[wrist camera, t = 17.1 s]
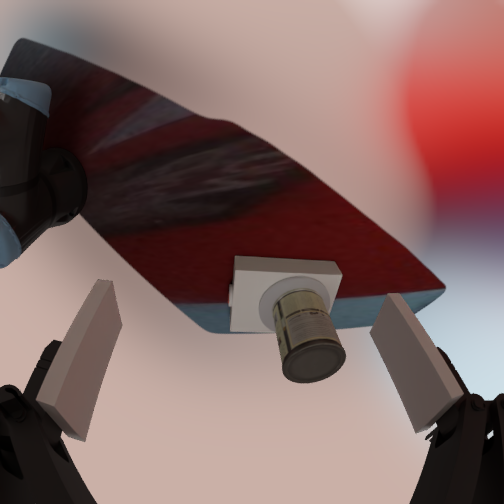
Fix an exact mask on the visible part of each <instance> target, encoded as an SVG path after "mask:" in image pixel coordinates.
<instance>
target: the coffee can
mask: <svg viewBox="0 0 504 504" xmlns="http://www.w3.org/2000/svg"><path fill="white" fill-rule="evenodd" d="M272 316H273V319H274V324H275V330H276V334H277V340H278V345H279V350H280V355H281V360H282V371H283V374H284V376H285V377H286V378H287V379H288V380H290V381H292V382H296V383H312V382H317V381H321V380H323V379H325V378H328V377H330V376H331V375H333V374H334V373H336V372H337V371H338V370H339V369H340V368H341V366H342V365H343V364H344V362H345V359H346V354H345V350H344V348H343V347H342V345H341V343H340V340H339V338H338V335H337V333H336V330H335V328H334V326H333V323H332V321H331V318H330V316H329V314H328V311H327V309H326V307H325V304H324V302H323V299H322V297H321V295H320V294H319V293H318V292H316V291H314V290H312V289H308V288H297V289H293V290H290V291H288V292H286V293H284V294H283V295H281V296H280V297H279V298H278V299H277V300H276V301H275V303H274V305H273V308H272Z"/></svg>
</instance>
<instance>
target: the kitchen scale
mask: <svg viewBox="0 0 504 504" xmlns="http://www.w3.org/2000/svg"><path fill="white" fill-rule="evenodd" d="M341 278H342V274H341V272H340V270H339V268H338V267H337V265H336V263H335V262H334V261H318V260H300V259H283V258H266V257H249V256H235V260H234V272H233V284H230V285H229V293H228V303H229V306H230V307H231V308H230V331H233V332H268V333H276V330H275V324H274V319H273V316H272V308H273V305H274V303H275V301H276V300H277V299H278V298H279V297H280V296H281V295H283V294H284V293H286V292H288V291H290V290H293V289H297V288H308V289H312V290H314V291H316V292H318V293H319V294H320V295H321V297H322V299H323V302H324V304H325V307H326V309H327V311H328V314H330V311H331V308H332V305H333V302H334V299H335V296H336V293H337V290H338V287H339V284H340V281H341Z"/></svg>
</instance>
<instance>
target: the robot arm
mask: <svg viewBox="0 0 504 504" xmlns="http://www.w3.org/2000/svg"><path fill="white" fill-rule="evenodd" d="M50 101H51V89H50V87H49V86H48V85H46V84H44V83H40V82H36V81H30V80H24V79H17V78H7V77H0V268H4V267H6V266H8V265H9V264H10V263H11V262H12V261H14V260H15V259H17V258H18V257H19V256H20V255H21V254H22V253H23V252H24V251H25V250H26V249H27V248H28V247H29V246H30V245H31V244H32V243H33V242H34V241H35V240H36V239H37V238H38V237H39V236H40V235H41V234H42V233H43V232H45V231H46V230H47V229H48V228H51V227H55V226H60V225H63V224H66V223H68V222H69V221H71V220H72V219H73V218H74V217H75V216H77V215H78V214H79V213H80V211H81V210H82V208H83V206H84V204H85V201H86V196H87V180H86V176H85V172H84V170H83V167H82V166H81V164H80V162H79V161H78V159H77V158H76V157H75V156H74V155H73V154H72V153H70V152H69V151H67V150H65V149H62V148H50V149H47V150H44V151H42V148H43V141H44V134H45V128H46V122H47V118H49V113H48V112H49V106H50ZM121 328H122V322H121V318H120V314H119V310H118V305H117V301H116V296H115V291H114V286H113V281H109V280H99V279H98V280H97V282H96V283H95V285H94V286H93V289H92V290H91V291H90V293H89V295H88V296H87V298H86V300H85V301H84V303H83V305H82V307H81V309H80V310H79V312H78V314H77V315H76V317H75V319H74V321H73V323H72V325H71V326H70V328H69V330H68V332H67V334H66V336H65V338H64V340H63V342H61V341H57V340H53V341H52V342H51V343H50V344H49V345H48V346H47V347H46V348H45V349H44V351H43V353H42V355H41V357H40V360H39V361H38V363H37V365H36V368H35V369H34V371H33V373H32V375H31V377H30V379H29V381H28V384H27V386H26V388H25V391H24V393H23V394H22V393H21V391H19V389H18V388H17V387H15V386H13V385H10V384H9V385H4V386H2V387H0V504H97V503H96V501H95V500H94V498H93V496H92V495H91V493H90V492H89V490H88V489H87V487H86V485H85V483H84V481H83V480H82V478H81V476H80V474H79V472H78V471H77V469H76V467H75V465H74V463H73V461H72V459H71V457H70V455H69V453H68V451H67V448H66V446H65V444H64V442H63V440H62V439H61V433H62V431H63V432H64V433H65V434H66V435H67V436H68V437H71V438H74V439H77V440H80V441H84V442H85V441H86V437H87V433H88V429H89V425H90V421H91V418H92V414H93V411H94V407H95V404H96V400H97V397H98V394H99V391H100V388H101V384H102V381H103V378H104V375H105V372H106V369H107V366H108V363H109V360H110V358H111V355H112V352H113V349H114V346H115V343H116V341H117V338H118V335H119V332H120V330H121ZM370 335H371V337H372V338H373V341H374V343H375V345H376V347H377V349H378V350H379V353H380V355H381V357H382V359H383V361H384V363H385V365H386V367H387V369H388V372H389V374H390V376H391V378H392V380H393V382H394V384H395V387H396V389H397V391H398V393H399V395H400V398H401V400H402V402H403V404H404V407H405V409H406V411H407V414H408V416H409V418H410V421H411V423H412V425H413V428H414V430H415V433H419V432H422V431H424V430H427V429H429V428H430V427H431V426H432V425H433V424H434V423H435V422H436V424H437V427H436V428H435V429H434V430H433V431H432V432H431V433H430V434H428V435H427V436H426V438H425V440H427V439H429V438H430V437H431V436H432V435H433V437H432V438H431V439H430V440H429V441H430V442H431V444H430V448H429V451H428V454H427V457H426V461H425V464H424V467H423V470H422V473H421V476H420V478H419V481H418V484H417V486H416V489H415V491H414V494H413V496H412V499H411V501H410V504H504V394H503V393H502V394H499V395H498V396H497V397H496V398H495V399H494V400H492V401H484V399H483V398H482V397H481V396H480V395H478V394H474V393H473V394H470V392H469V391H468V389H467V387H466V386H465V384H464V382H463V380H462V379H461V377H460V375H459V374H458V372H457V370H455V367H454V366H453V364H451V361H450V359H449V357H448V356H447V354H446V353H445V352H444V351H443V350H441V349H440V348H439V347H435V345H434V343H433V342H432V340H431V338H430V337H429V335H428V334H427V333H426V331H425V329H424V328H423V326H422V325H421V324H420V322H419V321H418V319H417V318H416V316H415V315H414V313H413V312H412V310H411V309H410V308H409V306H408V305H407V303H406V302H405V301H404V299H403V298H402V296H401V295H400V294H399V293H388V294H387V296H386V298H385V301H384V303H383V305H382V308H381V310H380V312H379V314H378V316H377V319H376V321H375V323H374V325H373V327H372V329H371V331H370ZM492 430H493V436H492V437H491V438H490V439H488V438H487V435H488V434H489V433H490V432H491V431H492Z"/></svg>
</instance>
